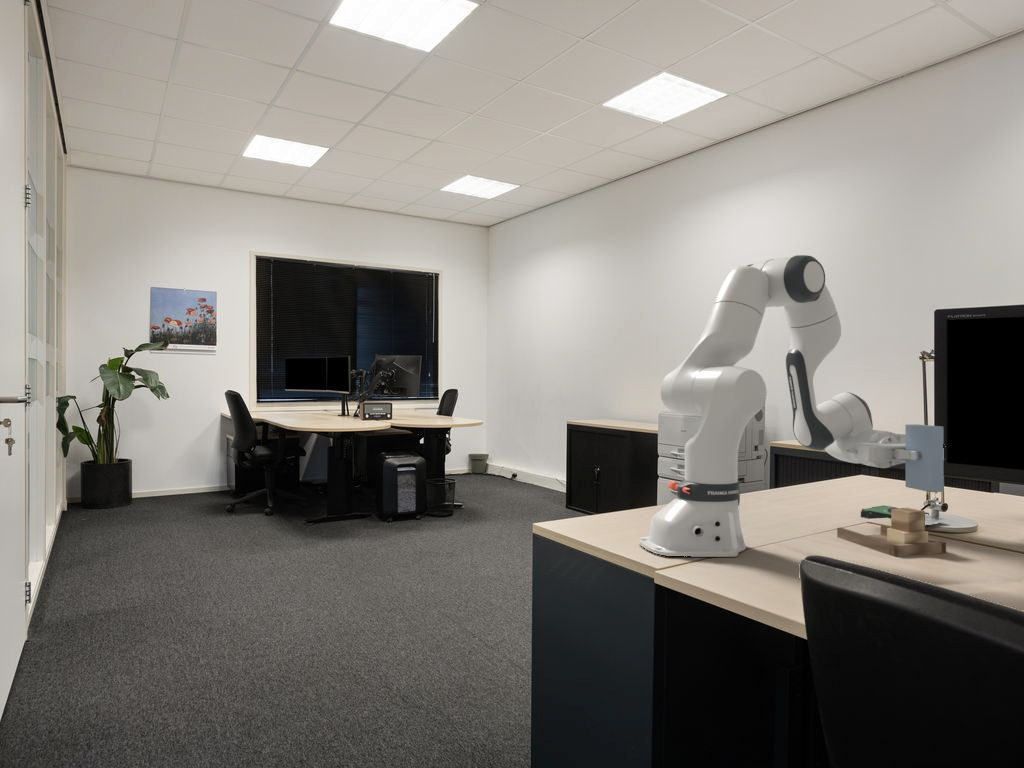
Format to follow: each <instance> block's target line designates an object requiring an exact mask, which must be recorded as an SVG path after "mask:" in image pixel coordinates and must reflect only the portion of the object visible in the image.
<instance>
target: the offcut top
mask: <svg viewBox="0 0 1024 768" xmlns="http://www.w3.org/2000/svg"><path fill="white" fill-rule="evenodd" d="M896 508H897V509H891V519H890V522H891V524H890V527H891V529H895V530H899V531H904V532H908V533H910V532H918V531H926V530H925V529H926V527H925V513H926V512H925V510H922V509H917V508H911V507H900V508H899V507H896Z"/></svg>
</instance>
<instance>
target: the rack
mask: <svg viewBox="0 0 1024 768" xmlns="http://www.w3.org/2000/svg"><path fill="white" fill-rule="evenodd" d="M887 528H891V526H889V525H886V524H885V525H884V524H882V525H880V534H862V533H859V532H856V531H854V530H851V529H846V528H843V527H837V530H836V531H837V532H836V533H837V534H836V536H837V539H838V538H839V539H842V540H845V541H848V542H851V543H853V544H856V545H858V546H859V545H860V546H862V547H865V548H868V549H871V550H874V551H877V552H880V553H883V554H885V555H888V556H892V557H907V556H908V557H909V556H920V555H921V556H922V555H923V556H924V555H938V554H939V555H940V554H947V543H946V542H945V541H940V540H937V539H935V538H930V537H928V542H927V543H911V544H891V543H888V542H887Z"/></svg>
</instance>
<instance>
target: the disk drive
mask: <svg viewBox="0 0 1024 768" xmlns="http://www.w3.org/2000/svg"><path fill="white" fill-rule="evenodd" d="M897 508H898V507H894V506H890V505H889V506H888V505H879V506H878V505H877V506H871V507H868V508H861V511H860V517H861V518H863V519H869V520H871V519H872V520H873V519H874V520H875V519H890V520H891V509H897ZM925 514H928V515H929V512H925ZM939 515H940V514H939ZM940 516H941V515H940Z"/></svg>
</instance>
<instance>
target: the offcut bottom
mask: <svg viewBox="0 0 1024 768" xmlns="http://www.w3.org/2000/svg"><path fill="white" fill-rule="evenodd" d="M928 538H929V531H927V530H925V531H918V532H910V533H908V532H904V531H899V530H895V529H891V528H887V542H888V543H891V544H911V543H927V542H928Z"/></svg>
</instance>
